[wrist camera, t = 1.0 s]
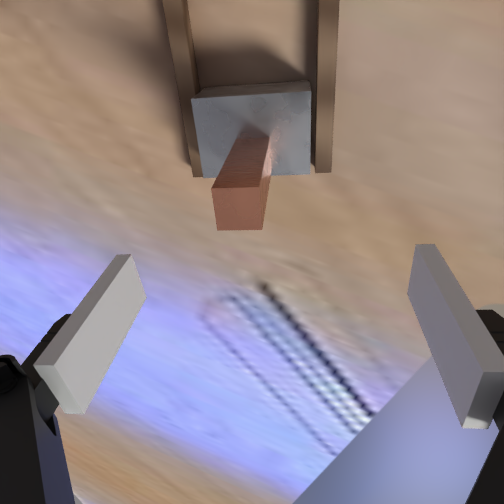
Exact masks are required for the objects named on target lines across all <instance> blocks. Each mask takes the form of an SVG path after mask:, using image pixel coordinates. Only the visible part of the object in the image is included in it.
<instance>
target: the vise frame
mask: <svg viewBox="0 0 504 504" xmlns="http://www.w3.org/2000/svg"><path fill="white" fill-rule="evenodd" d="M162 2H163V8H164V13H165V19H166V25H167V30H168V36H169V42H170V48H171V53H172V59H173V65H174V70H175V76H176V82H177V87H178V93H179V99H180V105H181V110H182V116H183V122H184V127H185V133H186V139H187V144H188V150H189V156H190V162H191V167H192V173H193V177H203V172H202V166H201V159H200V153H199V147H198V141H197V134H196V128H195V122H194V115H193V109H192V103H191V98H193V97H194V96H195V95H197V94H198V93H199V92H200V88H199V81H198V74H197V67H196V60H195V53H194V46H193V39H192V32H191V25H190V18H189V11H188V4H187V0H162ZM338 20H339V0H318V25H317V72H316V120H315V173H329V172H331V166H332V145H333V124H334V104H335V83H336V62H337V41H338Z"/></svg>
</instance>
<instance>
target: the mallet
mask: <svg viewBox="0 0 504 504" xmlns="http://www.w3.org/2000/svg"><path fill="white" fill-rule="evenodd" d="M191 103H192V109H193V115H194V122H195V128H196V134H197V141H198V147H199V153H200V159H201V166H202V172H203V178H215V177H217V178H216V180H215V182H214V184H213V186H212V188H211V190H212V197H213V204H214V210H215V217H216V224H217V230H262V227H263V221H264V215H265V208H266V202H267V196H268V190H269V183H270V177H271V176H272V175H301V174H310V146H311V87H310V83H309V80H306V81H292V82H277V83H263V84H248V85H234V86H219V87H206V88H205V89H203V90H202V91H201V92H199V93H198V94H197V95H195V96H194V97H193V98H191Z"/></svg>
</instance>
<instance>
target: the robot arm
mask: <svg viewBox="0 0 504 504" xmlns="http://www.w3.org/2000/svg"><path fill="white" fill-rule="evenodd" d="M407 294H408V296H409V299H410V301H411V304H412V306H413V309H414V311H415V314H416V316H417V319H418V321H419V323H420V326H421V328H422V331H423V333H424V336H425V338H426V341H427V343H428V346H429V348H430V350H431V353H432V355H433V357H434V360H435V363H436V365H437V368H438V370H439V373H440V375H441V377H442V380H443V382H444V385H445V387H446V390H447V392H448V395H449V397H450V399H451V402H452V404H453V407H454V409H455V412H456V414H457V417H458V419H459V421H460V424H461V427H462V428H474V429H488V428H489V426H490V424H491V422H492V419H494V421H495V423H496V425H497V427H498V429H499V433H498V435H497V437H496V440H495V442H494V444H493V446H492V448H491V450H490V452H489V454H488V456H487V459H486V461H485V463H484V465H483V467H482V469H481V471H480V474H479V476H478V478H477V480H476V482H475V484H474V486H473V488H472V490H471V492H470V494H469V497H468V499H467V501H466V503H465V504H504V318H503V317H501V316H500V315H499V314H497V313H496V312H495V311H493V310H475V309H474V307H473V305H472V304H471V302H470V301H469V299H468V297H467V296H466V294H465V292H464V291H463V289H462V288H461V286H460V284H459V283H458V281H457V280H456V278H455V276H454V275H453V273H452V271H451V270H450V268H449V267H448V265H447V263H446V262H445V260H444V258H443V257H442V255H441V254H440V252H439V250H438V249H437V247H436V246H435V244H418V245H416V246H415V252H414V258H413V263H412V269H411V275H410V281H409V287H408V293H407ZM146 298H147V297H146V294H145V292H144V289H143V286H142V283H141V280H140V277H139V275H138V272H137V269H136V266H135V263H134V260H133V257H132V255H131V254H126V255H116V256H115V258H114V259H113V260H112V262H111V263H110V264H109V266H108V267H107V268H106V270H105V271H104V272H103V274H102V275H101V276H100V278H99V279H98V280H97V281H96V283H95V284H94V285H93V287H92V288H91V289H90V291H89V292H88V293H87V295H86V296H85V297H84V299H83V300H82V301H81V303H80V304H79V305H78V307H77V308H76V309H75V310H74V312H73V313H72V314H66V315H64V316H63V317H62V318H60V319H59V320H58V321H56V322H55V323H54V324H53V326H52V327H51V328H50V329H49V331H48V332H47V334H46V335H45V336H44V337H43V338H42V340H41V342H39V343H38V345H37V346H36V347H35V348H34V350H33V351H32V352H31V353H30V355H29V356H28V357H27V358H26V360H25V361H24V362H23V364H22V365H21V366H20V364H19V363H18V361H17V360H16V359H15V357H14V356H12V355H1V356H0V504H75V501H74V496H73V491H72V487H71V482H70V477H69V473H68V468H67V463H66V458H65V454H64V449H63V444H62V440H61V435H60V430H59V426H58V421H57V418H56V416H55V414H54V412H55V410H56V408H57V407H58V405H60V406H61V408H62V409H63V411H64V412H65V414H85V412H86V410H87V408H88V406H89V404H90V402H91V400H92V399H93V397H94V395H95V393H96V391H97V389H98V387H99V386H100V384H101V382H102V380H103V378H104V376H105V374H106V372H107V371H108V369H109V367H110V365H111V363H112V361H113V359H114V358H115V356H116V354H117V352H118V350H119V348H120V346H121V344H122V343H123V341H124V339H125V337H126V335H127V333H128V331H129V330H130V328H131V326H132V324H133V322H134V320H135V318H136V316H137V315H138V313H139V311H140V309H141V307H142V305H143V303H144V301H145V300H146Z"/></svg>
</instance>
